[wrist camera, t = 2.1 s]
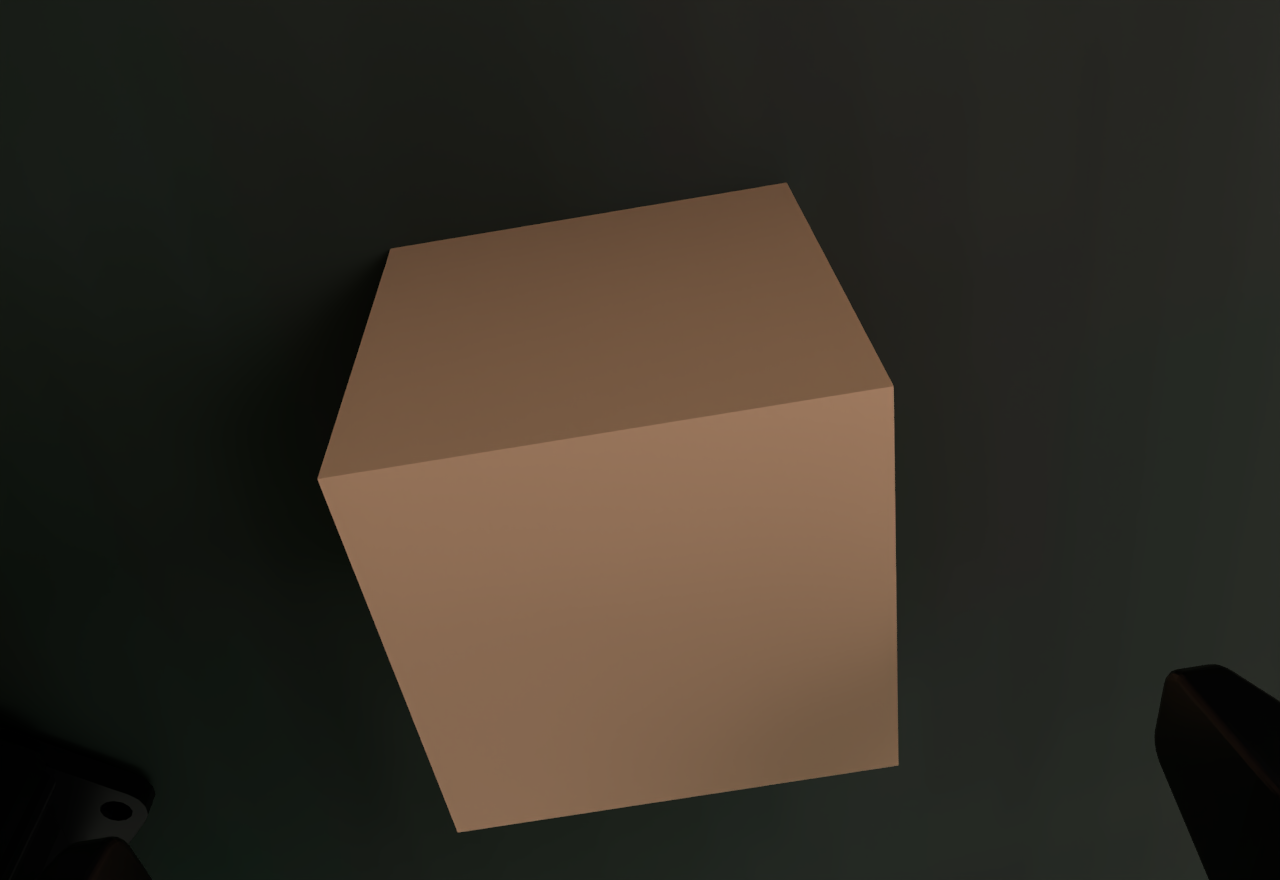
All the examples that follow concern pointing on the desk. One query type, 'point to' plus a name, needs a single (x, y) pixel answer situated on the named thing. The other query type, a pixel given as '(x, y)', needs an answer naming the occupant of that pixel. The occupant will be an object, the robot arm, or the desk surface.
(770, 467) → the plain cardboard-brown cube
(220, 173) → the desk surface
